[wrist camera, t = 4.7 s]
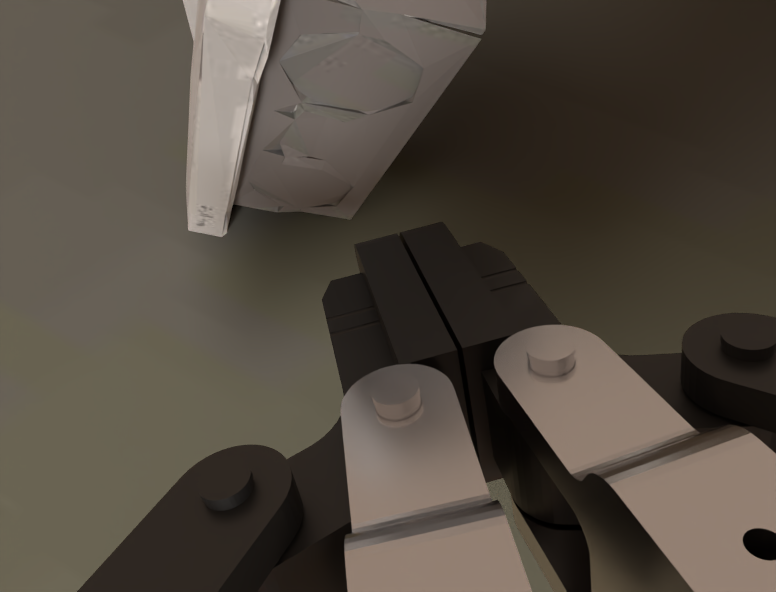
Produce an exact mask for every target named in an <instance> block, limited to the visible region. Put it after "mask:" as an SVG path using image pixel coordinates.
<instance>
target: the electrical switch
mask: <svg viewBox="0 0 776 592" xmlns="http://www.w3.org/2000/svg"><path fill="white" fill-rule="evenodd" d="M183 3H184V6H185V10H186V14H187V18H188V21H189V25H190V29H191V32H192V36H193V40H194V47H193V58H192V69H191V81H190V104H189V128H188V151H187V174H186V197H187V215H188V230H189V231H194V232H199V233H204V234H209V235H214V236H219V237H222V236H224V235H225V234H226V233H227V229H228V224H229V219H230V214H231V210H232V206H233V204H234V205H240V206H245V207H251V208H256V209H261V210H267V211H272V212H307V213H313V214H319V215H325V216H331V217H337V218H343V219H349V220H351V219H352V217H353V216H354V214H355V213H356V212H357V210H358V209H359V208H360V206H361V205H362V203H363V202H364V201H365V199H366V198H367V196H368V195H369V194H370V192H371V191H372V190H373V188H374V187H375V185H376V184H377V183H378V181H379V180H380V179H381V177H382V176H383V174H384V173H385V172H386V170H387V169H388V168H389V166H390V165H391V163H392V162H393V161H394V159H395V158H396V156H397V155H398V154H399V152H400V151H401V150H402V148H403V147H404V145H405V144H406V143H407V141H408V140H409V139H410V137H411V136H412V134H413V133H414V132H415V130H416V129H417V127H418V126H419V125H420V123H421V122H422V121H423V119H424V118H425V116H426V115H427V114H428V112H429V111H430V110H431V108H432V107H433V105H434V104H435V103H436V101H437V100H438V99H439V97H440V96H441V94H442V93H443V92H444V90H445V89H446V87H447V86H448V85H449V83H450V82H451V81H452V79H453V78H454V76H455V75H456V74H457V72H458V71H459V70H460V68H461V67H462V65H463V64H464V63H465V61H466V60H467V58H468V57H469V56H470V54H471V53H472V52H473V50H474V49H475V47H476V46H477V45H478V43H479V42H480V41H481V39H480V38H477V37H473V36H470V35H467V34H464V33H460V32H457V31H454V30H451V29H447V28H444V27H441V26H437V25H434V24H431V23H428V22H424V21H421V20H425V21H429V22H433V23H437V24H441V25H444V26H448V27H452V28H456V29H460V30H464V31H468V32H472V33H476V34H479V35H482V34H483V33H484V31H485V30H486V0H183ZM405 15H406V16H405ZM408 16H409V17H408ZM411 17H413V18H411ZM415 18H417V19H415ZM418 19H421V20H418ZM404 100H405V101H404Z"/></svg>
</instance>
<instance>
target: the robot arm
mask: <svg viewBox="0 0 776 592" xmlns="http://www.w3.org/2000/svg"><path fill="white" fill-rule="evenodd" d="M399 237H400V238H399ZM354 246H355V252H356V257H357V261H358V266H359V270H360V273H359V274H355V275H352V276H348V277H344V278H340V279H336V280H332V281H331V282H330V284H329V286H328V288H327V290H326V292H325V294H324V297H323V299H322V302H323V306H324V311H325V315H326V319H327V324H328V328H329V332H330V336H331V341H332V345H333V349H334V354H335V358H336V362H337V367H338V371H339V375H340V380H341V384H342V388H343V393H344V398H343V400H342V404H341V416H340V418H339V419H338V421H337V423H336V424H335V425H334V427H333V428H332V429H331V430H330V431H329V432H328V433H327V434H326V435H325V436H324V437H323V438H321V439H320V440H319V441H317V442H316V443H315V444H313V445H311V446H310V447H308V448H306V449H305V450H303V451H301V452H299V453H297V454H296V455H294V456H292V457H290V458H288V459H286V458H285V457H284V456H283V455H282V454H281V453H279V452H278V451H276V450H274V449H272V448H269V447H266V446H261V445H241V446H235V447H231V448H227V449H224V450H221V451H219V452H216V453H214V454H212V455H210V456H208V457H206V458H205V459H203V460H201V461H200V462H198V463H197V464H195V465H194V466H193V467H192V468H190V469H189V470H188V471H187V472H186V473H185V474H184V475H183V476H182V477H181V478H180V479H179V480H178V481H177V482H176V484H175V485H174V486H173V487H172V488H171V489H170V490H169V491H168V492H167V493H166V495H165V496H164V497H163V498H162V499H161V500H160V501H159V502H158V503H157V504H156V506H155V507H154V508H153V509H152V510H151V511H150V512H149V513H148V514H147V515H146V517H145V518H144V519H143V520H142V521H141V522H140V523H139V524H138V525H137V526H136V528H135V529H134V530H133V531H132V532H131V533H130V534H129V535H128V536H127V537H126V538H125V540H124V541H123V542H122V543H121V544H120V545H119V546H118V547H117V548H116V549H115V551H114V552H113V553H112V554H111V555H110V556H109V557H108V558H107V559H106V560H105V562H104V563H103V564H102V565H101V566H100V567H99V568H98V569H97V570H96V571H95V573H94V574H93V575H92V576H91V577H90V578H89V579H88V580H87V581H86V582H85V584H84V585H83V586H82V587H81V588H80V589H79V590H78V591H77V592H532V590H531V587H530V584H529V581H528V578H527V576H526V573H525V570H524V567H523V564H522V561H521V558H520V555H519V553H518V550H517V547H516V544H515V541H514V538H513V535H512V533H511V530H510V527H509V524H508V521H507V518H506V516H505V513H504V511H503V508H502V506H501V504H500V503H499V501H498V500H496V501H492V499H491V497H490V494H489V491H488V488H487V485H486V483H487V482H490V481H494V480H497V479H501V478H504V480H505V482H506V485H507V487H508V489H509V491H510V493H511V500H512V508H513V516H514V520H515V523H516V526H517V528H518V530H519V532H520V533H521V535H522V537H523V539H524V540H525V542H526V544H527V546H528V547H529V549H530V551H531V553H532V554H533V556H534V558H535V560H536V561H537V563H538V565H539V567H540V568H541V570H542V572H543V574H544V575H545V577H546V579H547V580H548V582H549V584H550V586H551V587H552V589H553V591H554V592H776V318H774V317H770V316H765V315H759V314H750V313H728V314H720V315H715V316H711V317H708V318H705V319H703V320H701V321H699V322H697V323H695V324H694V325H692V326H691V327H690V328H689V329H688V330H687V331H686V333H685V335H684V336H683V341H682V353H675V354H656V355H617V354H616V353H615V352H614V351H613V350H612V349H611V348H610V347H609V346H608V345H607V344H606V343H605V342H604V341H603V340H601V339H600V338H599V337H598V336H596V335H594V334H593V333H591V332H589V331H586V330H584V329H581V328H577V327H573V326H566V325H562V324H561V323H560V322H559V321H558V319H557V318H556V317H555V316H554V314H553V313H552V312H551V311H550V310H549V308H548V307H547V306H546V305H545V303H544V302H543V301H542V300H541V298H540V297H539V296H538V295H537V293H536V292H535V291H534V290H533V288H532V287H531V286H530V285H529V284H527V281H526V280H525V278H524V277H523V276H522V275H521V273H520V272H519V271H517V270H516V267H515V266H514V265H513V263H512V262H511V261H510V260H509V258H508V257H507V256H506V255H505V253H504V252H502V251H500V250H498V249H495V248H493V247H491V246H489V245H487V244H484V243H482V242H478V243H474V244H470V245H466V246H463V247H460V246H459V244H458V243H457V241H456V240H455V238H454V237H453V235H452V234H451V233H450V231H449V230H448V228H447V227H446V225H445V224H444V223H443V222H440V223H436V224H432V225H428V226H424V227H420V228H416V229H412V230H408V231H404V232H401V233H400V235H399V236H398V234H393V235H389V236H385V237H382V238H378V239H374V240H370V241H366V242H362V243H358V244H354Z"/></svg>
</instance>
